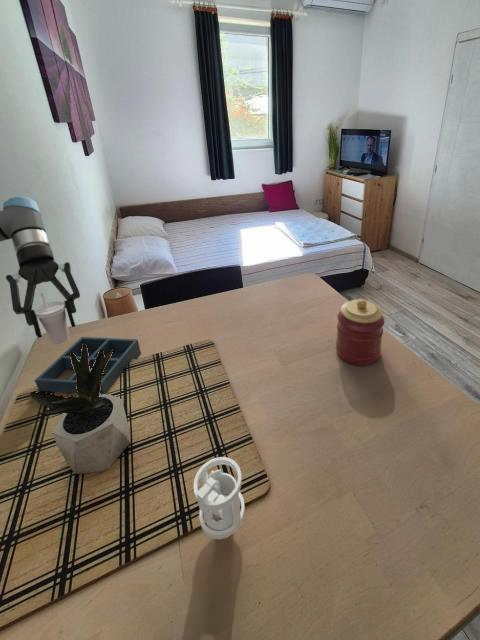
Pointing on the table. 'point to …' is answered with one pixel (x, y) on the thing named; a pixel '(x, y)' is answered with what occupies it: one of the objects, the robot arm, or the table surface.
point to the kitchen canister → (359, 332)
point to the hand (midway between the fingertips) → (56, 330)
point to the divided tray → (90, 363)
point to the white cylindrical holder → (219, 499)
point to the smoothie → (53, 320)
